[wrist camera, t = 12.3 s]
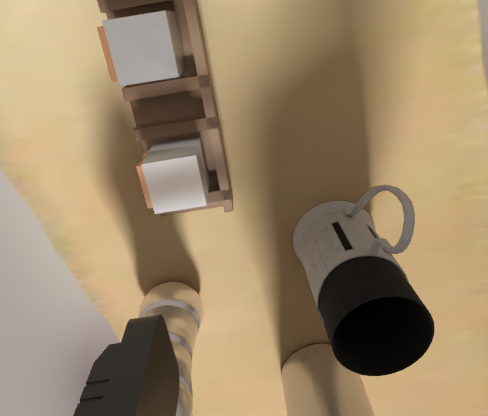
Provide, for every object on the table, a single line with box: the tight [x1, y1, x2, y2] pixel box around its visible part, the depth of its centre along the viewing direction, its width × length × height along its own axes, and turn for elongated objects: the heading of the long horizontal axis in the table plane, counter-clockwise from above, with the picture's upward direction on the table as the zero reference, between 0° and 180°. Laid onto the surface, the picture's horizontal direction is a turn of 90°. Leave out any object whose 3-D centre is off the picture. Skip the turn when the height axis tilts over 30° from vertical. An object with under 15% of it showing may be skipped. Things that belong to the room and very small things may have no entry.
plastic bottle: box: [138, 282, 203, 416], centre depth 37 cm, size 6×7×20 cm
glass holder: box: [293, 185, 434, 376], centre depth 36 cm, size 9×14×15 cm, turn 172°
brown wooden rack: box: [97, 0, 233, 216], centre depth 33 cm, size 20×7×8 cm, turn 9°
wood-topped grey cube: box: [97, 10, 186, 86], centre depth 31 cm, size 4×5×6 cm
